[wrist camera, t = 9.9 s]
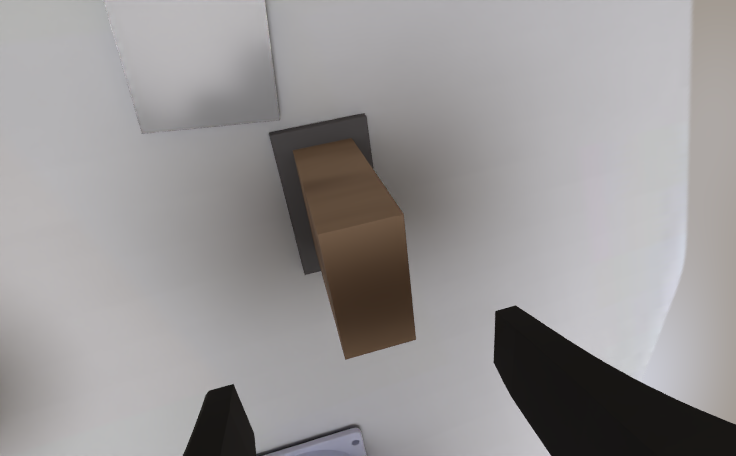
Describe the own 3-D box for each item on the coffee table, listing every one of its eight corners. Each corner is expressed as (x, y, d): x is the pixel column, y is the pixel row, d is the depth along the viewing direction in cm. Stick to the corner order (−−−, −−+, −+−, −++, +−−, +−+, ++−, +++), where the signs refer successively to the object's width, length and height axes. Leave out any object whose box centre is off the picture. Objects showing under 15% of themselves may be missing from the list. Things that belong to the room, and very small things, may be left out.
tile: (279, 120, 17) (256, -65, 14) (142, 133, 16) (84, -63, 13) (277, 112, 18) (255, -62, 15) (147, 124, 17) (95, -60, 14)
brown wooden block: (366, 237, 21) (415, 339, 15) (315, 250, 21) (345, 359, 15) (351, 137, 19) (403, 214, 13) (292, 150, 18) (317, 234, 12)
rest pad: (382, 250, 22) (384, 254, 22) (303, 270, 22) (304, 274, 21) (363, 113, 19) (366, 116, 18) (269, 132, 18) (269, 135, 18)
